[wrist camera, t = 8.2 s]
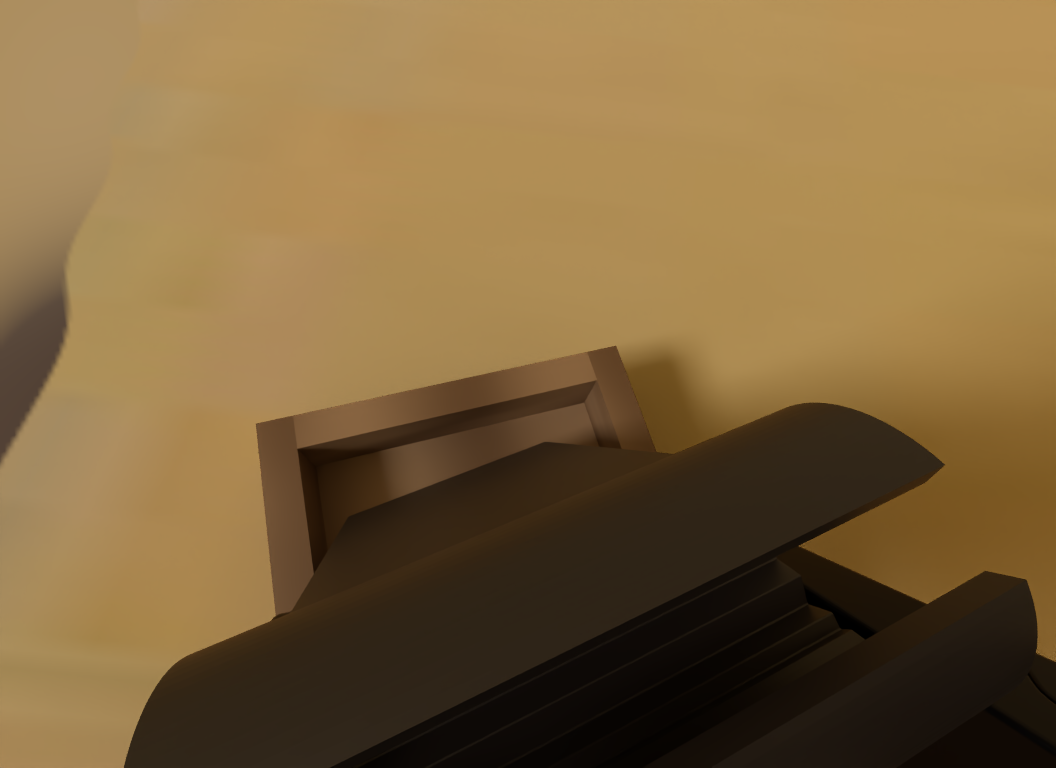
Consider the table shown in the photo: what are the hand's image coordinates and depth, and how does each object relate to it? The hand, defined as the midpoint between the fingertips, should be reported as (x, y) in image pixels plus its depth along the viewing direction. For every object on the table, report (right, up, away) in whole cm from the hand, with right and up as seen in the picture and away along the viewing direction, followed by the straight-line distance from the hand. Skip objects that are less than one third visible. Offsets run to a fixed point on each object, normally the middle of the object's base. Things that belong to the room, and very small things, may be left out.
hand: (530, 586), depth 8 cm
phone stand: (-1, -4, +6) cm, 7 cm away
